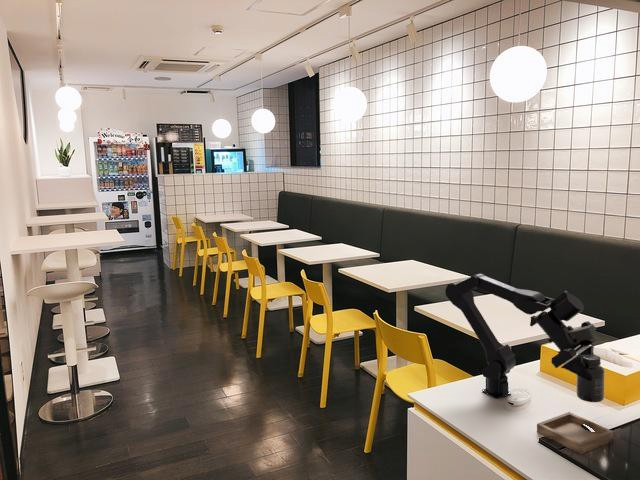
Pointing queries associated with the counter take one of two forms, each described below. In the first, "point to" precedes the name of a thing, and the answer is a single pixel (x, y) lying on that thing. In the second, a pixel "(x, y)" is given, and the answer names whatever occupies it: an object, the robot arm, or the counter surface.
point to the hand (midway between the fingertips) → (595, 376)
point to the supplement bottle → (595, 387)
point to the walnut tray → (574, 432)
